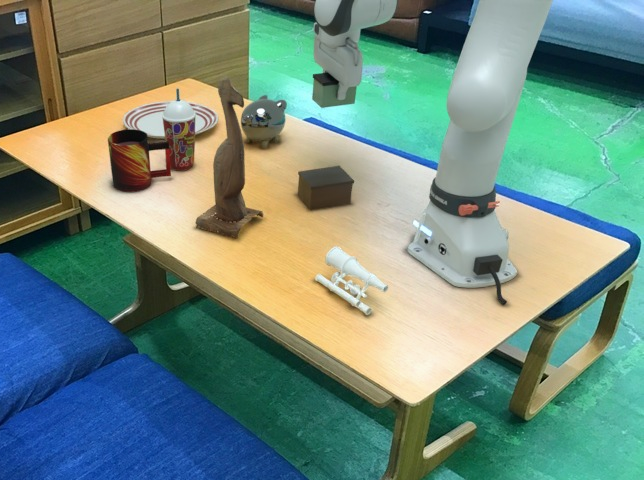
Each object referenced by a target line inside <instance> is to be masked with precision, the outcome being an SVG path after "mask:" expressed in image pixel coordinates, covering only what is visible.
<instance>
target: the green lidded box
mask: <svg viewBox="0 0 644 480" xmlns="http://www.w3.org/2000/svg"><path fill="white" fill-rule="evenodd" d="M312 79H313V83H312V84H313V85H312V97H311V100H312V101H313V102H314V103H315V104H316V105H318V106H319V107H320V108H321V109H324V108H332V107H338V106H347V105H355V104H356V96H357V87H358V86H354V87H349V88H348V89H347V91H346V96H345V99H344V100H338V99H337V98H336V91H338V89H339V81H338V80H337V79H335V78H334V77H333V76H332V75H330V74H329V73H323V72H320V73H313V74H312Z"/></svg>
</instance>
